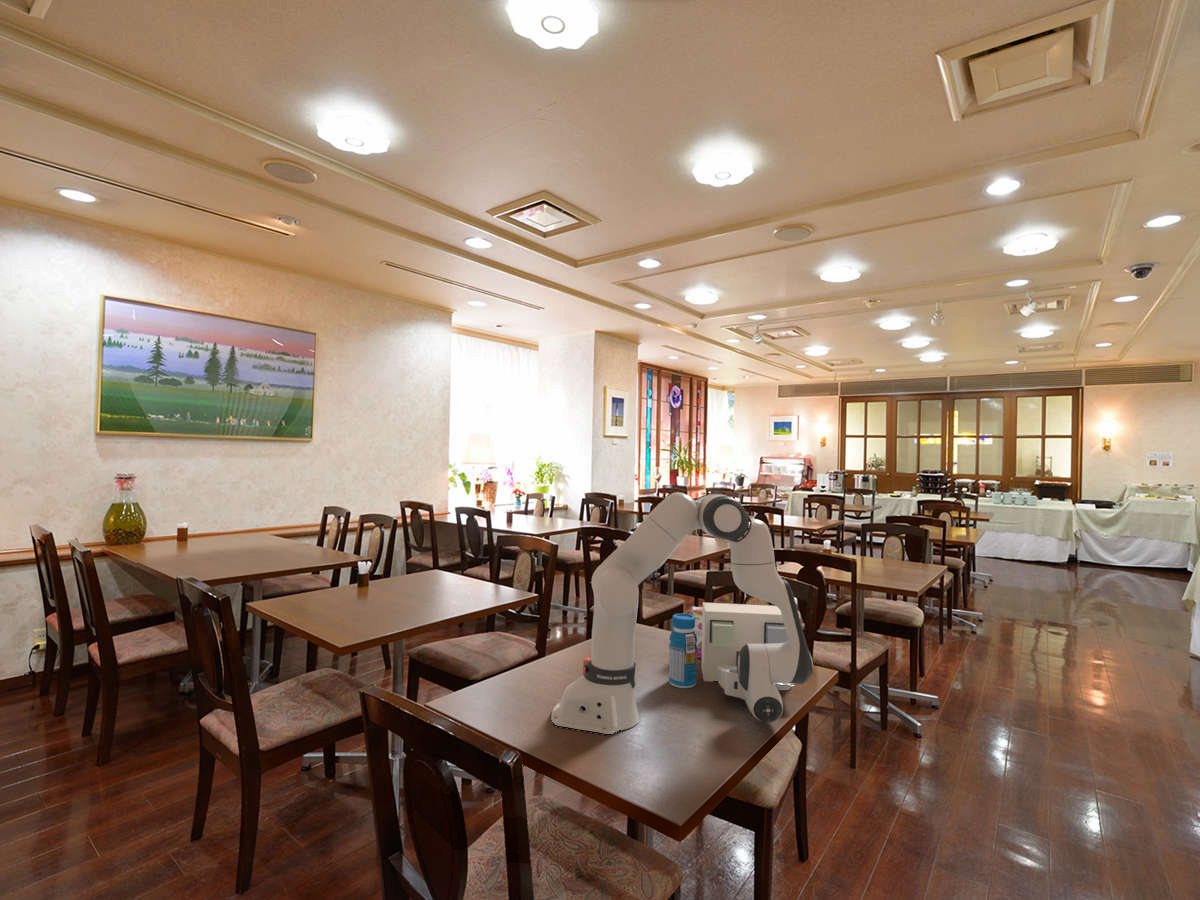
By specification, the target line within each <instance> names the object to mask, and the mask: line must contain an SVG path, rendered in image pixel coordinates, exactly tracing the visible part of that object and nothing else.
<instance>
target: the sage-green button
mask: <svg viewBox="0 0 1200 900" xmlns="http://www.w3.org/2000/svg"><path fill="white" fill-rule="evenodd" d="M733 634H734V626H733V624H732V621H727V620H711V642H712V646H728V647H733Z"/></svg>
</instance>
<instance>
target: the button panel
mask: <svg viewBox="0 0 1200 900" xmlns="http://www.w3.org/2000/svg"><path fill="white" fill-rule="evenodd" d="M702 607H703V612H702V659H701V665H700V666H701V673H702V678H703V682H713V681H718V680H717V666H718V665H728V666H736V654H737V651H740V650H741V649H742V647H743V646H744V645H746V644H757V643H764V644H765V622H768V623H784V622H783V618H782V614H781V611H780V609H779V608H778V607H777V606H776V605H766V604H747V603H745V604H744V603H742V604H741V603H726V602H725V603H724V602H720V603H719V602H702ZM711 620H727V621H732V624H733V626H734V634H733V647H728V646H712V642H711Z"/></svg>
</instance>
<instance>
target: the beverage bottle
mask: <svg viewBox="0 0 1200 900" xmlns="http://www.w3.org/2000/svg"><path fill="white" fill-rule="evenodd" d="M671 622H672V624H671V625H672V626H671V627H672V628H673V629H672V631H671V633H670V635H669V641H670V642H669V645H668V651H669V658H668V659H669V661H668V662H669V663H668V668H669V669H668V682H669V684H670V685H671V686H673V687H675V688H679V689H691V688H693V687H695V686H696V685H697V667H698V666H697V660H698V659H697V651H698V649H697V645H696V643H697V636H696V634H695V632H694V631H693V629H694V628H695V617H694V616H693V615H691V613H690V614H689V613H675V614H673V615H672V619H671Z"/></svg>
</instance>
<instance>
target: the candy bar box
mask: <svg viewBox="0 0 1200 900" xmlns="http://www.w3.org/2000/svg"><path fill="white" fill-rule="evenodd" d="M690 608H691V609H690V615H693V616H694V617H695V628H694V629H693V631H694V632H695V634H696V636H697V643H696V645H697V649H698V651H697V660H702V612H703V606H690Z"/></svg>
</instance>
